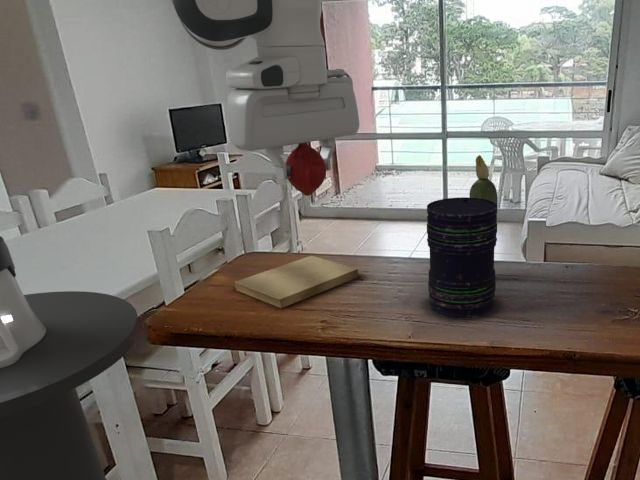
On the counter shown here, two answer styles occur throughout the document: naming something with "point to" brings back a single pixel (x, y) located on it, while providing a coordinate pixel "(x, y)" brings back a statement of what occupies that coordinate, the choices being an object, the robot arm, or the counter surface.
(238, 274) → the counter surface
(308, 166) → the onion
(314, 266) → the cutting board
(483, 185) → the vegetable
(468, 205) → the storage jar
